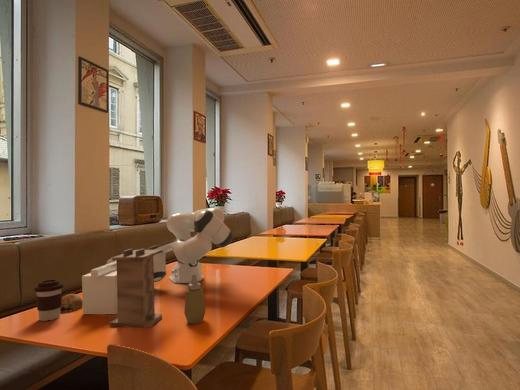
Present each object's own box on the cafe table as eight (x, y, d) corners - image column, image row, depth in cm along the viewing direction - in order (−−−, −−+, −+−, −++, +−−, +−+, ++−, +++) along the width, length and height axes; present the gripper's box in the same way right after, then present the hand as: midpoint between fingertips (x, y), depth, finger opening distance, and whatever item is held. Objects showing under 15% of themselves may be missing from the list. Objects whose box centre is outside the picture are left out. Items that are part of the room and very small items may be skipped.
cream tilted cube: (106, 301, 161) (105, 267, 161) (135, 301, 160) (134, 267, 160) (82, 314, 143) (81, 276, 143) (114, 315, 142) (114, 276, 142)
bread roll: (84, 315, 154) (90, 296, 157) (66, 311, 145) (73, 292, 149) (67, 313, 157) (73, 295, 161) (49, 309, 148) (55, 291, 152)
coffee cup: (45, 314, 145) (45, 278, 145) (68, 314, 145) (68, 278, 145) (29, 322, 135) (28, 284, 135) (54, 322, 135) (53, 284, 135)
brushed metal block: (122, 264, 166) (122, 258, 166) (128, 264, 166) (128, 258, 166) (90, 277, 140) (90, 270, 140) (97, 277, 140) (97, 270, 140)
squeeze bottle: (185, 318, 136) (184, 272, 136) (206, 317, 137) (205, 271, 137) (183, 326, 128) (181, 277, 128) (205, 324, 129) (204, 276, 129)
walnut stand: (131, 311, 146) (130, 245, 146) (168, 311, 144) (166, 244, 144) (108, 327, 128) (107, 252, 128) (150, 328, 126) (148, 251, 127)
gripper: (115, 262, 177) (102, 252, 165) (154, 262, 175) (143, 252, 163) (112, 274, 174) (98, 265, 162) (151, 274, 172) (140, 265, 160)
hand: (121, 259), depth 162 cm, fingers open, 8 cm apart
